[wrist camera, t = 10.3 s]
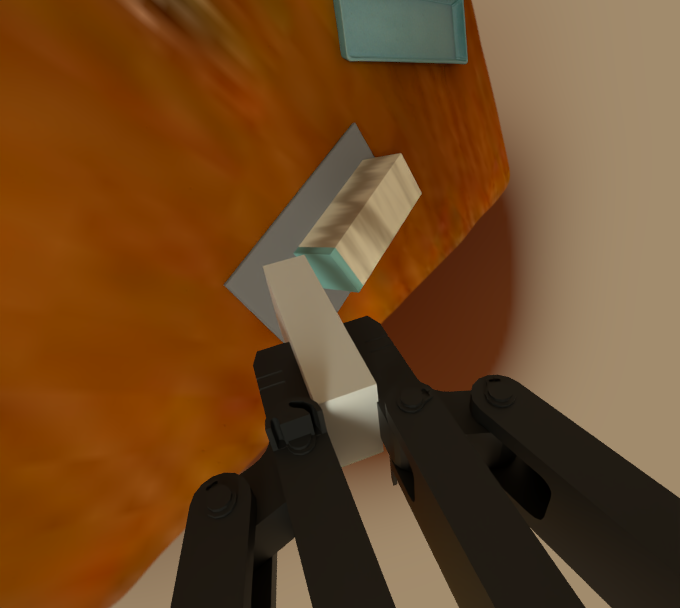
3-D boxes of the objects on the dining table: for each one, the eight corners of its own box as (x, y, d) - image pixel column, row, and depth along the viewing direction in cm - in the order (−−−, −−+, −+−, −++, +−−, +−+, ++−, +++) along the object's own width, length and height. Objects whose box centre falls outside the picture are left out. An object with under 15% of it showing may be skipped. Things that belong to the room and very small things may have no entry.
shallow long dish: (335, 66, 51) (351, 60, 49) (321, -26, 48) (337, -36, 46) (454, 68, 67) (468, 64, 66) (448, 1, 65) (463, -6, 63)
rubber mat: (302, 361, 51) (305, 362, 51) (223, 284, 43) (225, 285, 43) (401, 209, 61) (403, 209, 61) (352, 123, 53) (354, 122, 53)
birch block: (358, 292, 47) (421, 193, 53) (330, 254, 44) (401, 153, 50) (322, 288, 52) (384, 196, 58) (293, 253, 48) (362, 160, 54)
